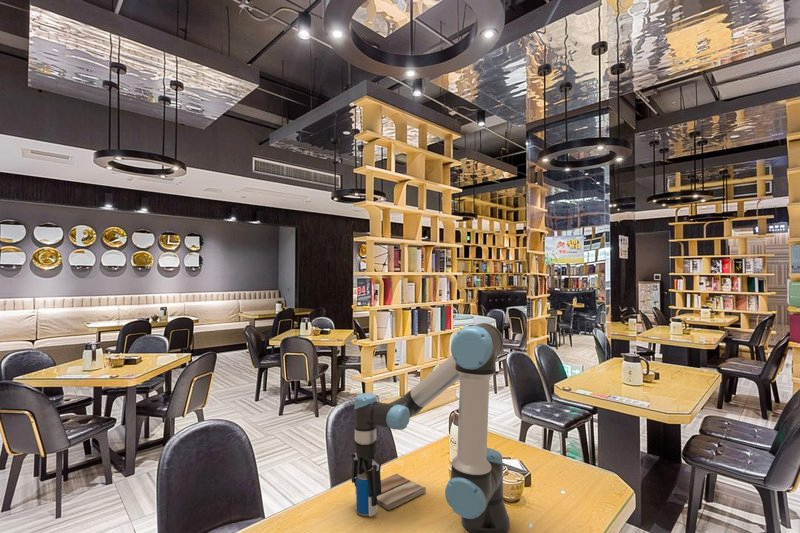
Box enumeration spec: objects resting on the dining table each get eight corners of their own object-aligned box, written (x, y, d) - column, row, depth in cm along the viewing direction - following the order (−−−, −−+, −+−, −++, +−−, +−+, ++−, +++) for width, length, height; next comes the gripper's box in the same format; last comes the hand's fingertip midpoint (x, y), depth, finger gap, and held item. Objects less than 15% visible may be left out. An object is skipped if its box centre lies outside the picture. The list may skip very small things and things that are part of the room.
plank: (426, 492, 145) (425, 487, 145) (388, 510, 133) (388, 505, 133) (411, 485, 150) (411, 480, 151) (374, 502, 139) (374, 497, 139)
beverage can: (372, 518, 129) (372, 480, 129) (354, 516, 130) (353, 478, 131) (377, 507, 135) (377, 471, 136) (359, 505, 136) (359, 470, 137)
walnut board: (410, 485, 151) (410, 480, 151) (373, 501, 139) (373, 497, 139) (396, 477, 157) (396, 473, 157) (360, 493, 145) (360, 488, 145)
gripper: (392, 445, 129) (393, 518, 128) (358, 430, 144) (358, 495, 142) (374, 452, 124) (375, 527, 123) (340, 435, 139) (341, 503, 137)
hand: (366, 510), depth 132 cm, fingers closed on beverage can, 6 cm apart
